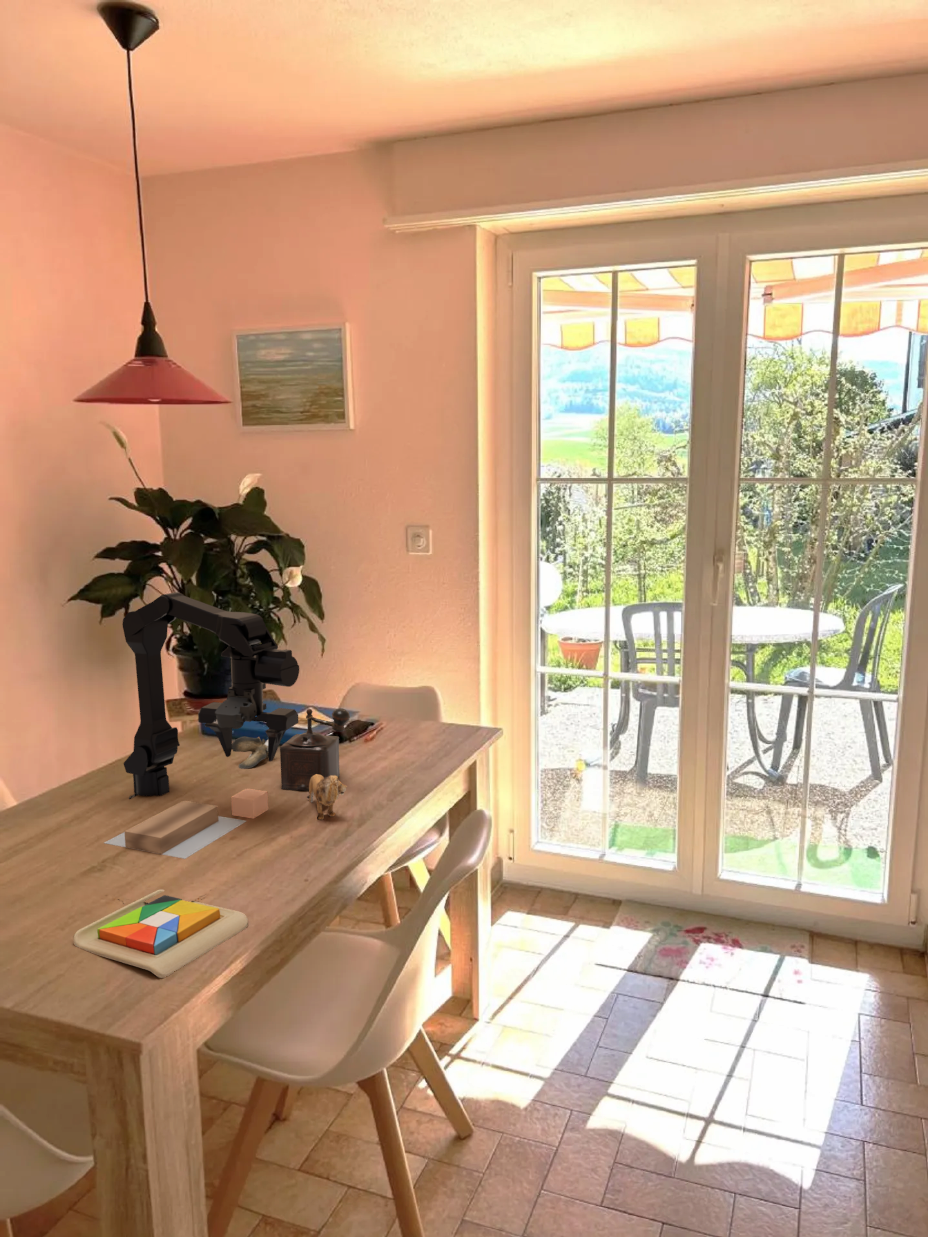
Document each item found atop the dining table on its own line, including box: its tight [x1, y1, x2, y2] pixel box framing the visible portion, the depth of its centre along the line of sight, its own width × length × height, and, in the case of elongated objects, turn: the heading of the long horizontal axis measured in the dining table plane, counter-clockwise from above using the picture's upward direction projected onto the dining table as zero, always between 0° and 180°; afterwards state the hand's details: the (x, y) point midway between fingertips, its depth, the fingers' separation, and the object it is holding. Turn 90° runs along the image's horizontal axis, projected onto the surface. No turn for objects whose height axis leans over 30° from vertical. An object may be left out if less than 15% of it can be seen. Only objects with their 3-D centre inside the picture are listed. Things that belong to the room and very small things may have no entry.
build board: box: [103, 815, 247, 860], centre depth 166 cm, size 18×18×1 cm
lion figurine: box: [306, 774, 348, 821], centre depth 178 cm, size 15×5×9 cm, turn 34°
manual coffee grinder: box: [279, 707, 351, 792], centre depth 193 cm, size 16×11×18 cm
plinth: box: [123, 800, 219, 855], centre depth 165 cm, size 8×16×3 cm, turn 158°
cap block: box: [230, 787, 269, 819], centre depth 175 cm, size 5×5×5 cm
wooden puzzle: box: [73, 889, 249, 979], centre depth 132 cm, size 18×19×4 cm
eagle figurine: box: [231, 736, 269, 770], centre depth 208 cm, size 8×7×9 cm
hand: (249, 758), depth 174 cm, fingers open, 9 cm apart
